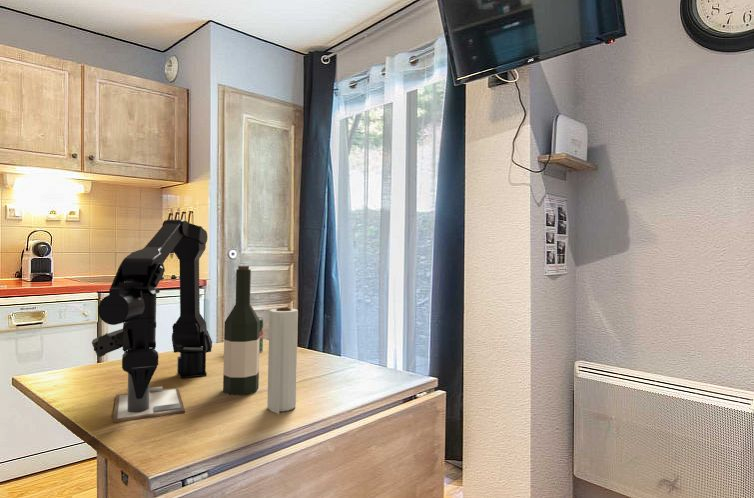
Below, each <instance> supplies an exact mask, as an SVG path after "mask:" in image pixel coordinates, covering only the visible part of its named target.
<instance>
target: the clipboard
mask: <svg viewBox="0 0 754 498" xmlns="http://www.w3.org/2000/svg"><path fill="white" fill-rule="evenodd" d="M180 392H181V391H180V389H179V387H175V388H173V387H172V388H163V385H161V386H153V387H149V409H148V410H146V411H142V412H128V411H127V410H128V392H126V393H120V394H119V393H118V394H116V395H115V402H114V410H113V418H112V420H113V421H112V423H118V422H126V421H132V420H139V419H148V418H155V417H161V416H170V415H174V414H175V415H178V414H184V413H186V410H185V406H184V402H183V399H182V395H181V393H180Z"/></svg>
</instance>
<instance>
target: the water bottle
mask: <svg viewBox="0 0 754 498" xmlns="http://www.w3.org/2000/svg"><path fill="white" fill-rule="evenodd" d="M150 384H151V383H149V385H148V387H147V389H146V391H145V394H144V396H143V398H142V399H136V395H135V390H134V385H133V381H132V376H131V375H130V374H129V373H127V393H128V410H127V411H128V412H142V411H146V410H148V409H149V388H150Z"/></svg>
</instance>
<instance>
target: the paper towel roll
mask: <svg viewBox="0 0 754 498" xmlns="http://www.w3.org/2000/svg"><path fill="white" fill-rule="evenodd" d="M268 313H269V316H268V317H269V320H268V321H269V322H268V361H267V362H268V363H267V364H268V365H267V402H266V403H267V404H266V405H267V406H266V407H267V409H268V410H270V412H272V413H276V414H277V415H278V416H279V415H280V412H288V411H291V410H294V409H296V406H297V366H298V365H297V364H298V362H297V361H298V326H299V325H298V322H299V321H298V320H299V319H298V318H299V310H298V309H296V308H290V307H289V308H288V307H281V308H272V309H269V312H268Z"/></svg>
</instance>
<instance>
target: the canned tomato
mask: <svg viewBox="0 0 754 498" xmlns="http://www.w3.org/2000/svg"><path fill="white" fill-rule="evenodd" d="M258 318H259V320H260V343H259V354H261V353H263V349H264V344H263V343H264V317H262V316H261V317H260V316H258Z"/></svg>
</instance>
